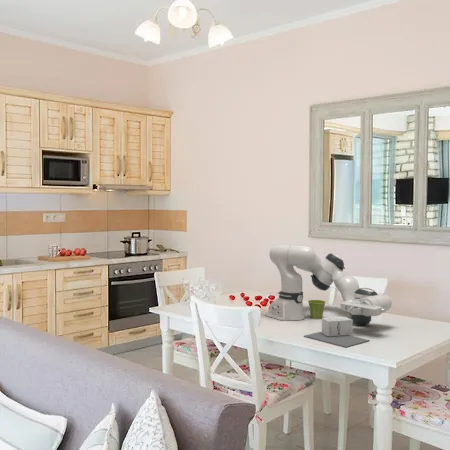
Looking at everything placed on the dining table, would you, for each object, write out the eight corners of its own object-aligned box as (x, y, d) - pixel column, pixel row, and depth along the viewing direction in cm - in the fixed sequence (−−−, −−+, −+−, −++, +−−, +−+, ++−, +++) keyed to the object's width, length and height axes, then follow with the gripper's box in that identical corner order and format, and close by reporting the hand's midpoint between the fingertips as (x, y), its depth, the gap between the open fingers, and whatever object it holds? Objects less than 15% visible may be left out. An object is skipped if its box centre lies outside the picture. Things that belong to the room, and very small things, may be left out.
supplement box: (353, 335, 254) (328, 337, 251) (345, 331, 262) (321, 333, 258) (353, 319, 254) (328, 321, 251) (345, 316, 261) (321, 317, 258)
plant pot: (328, 318, 292) (329, 302, 291) (313, 320, 288) (313, 303, 288) (319, 315, 300) (319, 299, 300) (304, 316, 297) (304, 300, 296)
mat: (303, 336, 253) (303, 335, 253) (327, 331, 264) (327, 330, 264) (345, 347, 235) (345, 346, 235) (369, 341, 246) (369, 340, 246)
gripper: (387, 316, 257) (369, 321, 248) (351, 310, 272) (333, 314, 263) (387, 303, 256) (369, 307, 247) (351, 297, 272) (333, 301, 263)
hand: (350, 311), depth 256 cm, fingers closed
